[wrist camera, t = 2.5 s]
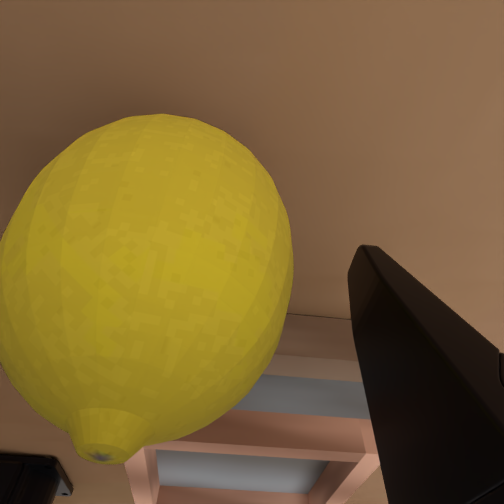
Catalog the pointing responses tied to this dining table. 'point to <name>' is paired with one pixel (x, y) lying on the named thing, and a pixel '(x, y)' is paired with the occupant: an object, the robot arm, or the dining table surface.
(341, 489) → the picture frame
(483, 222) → the dining table surface
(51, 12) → the dining table surface
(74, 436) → the lemon
